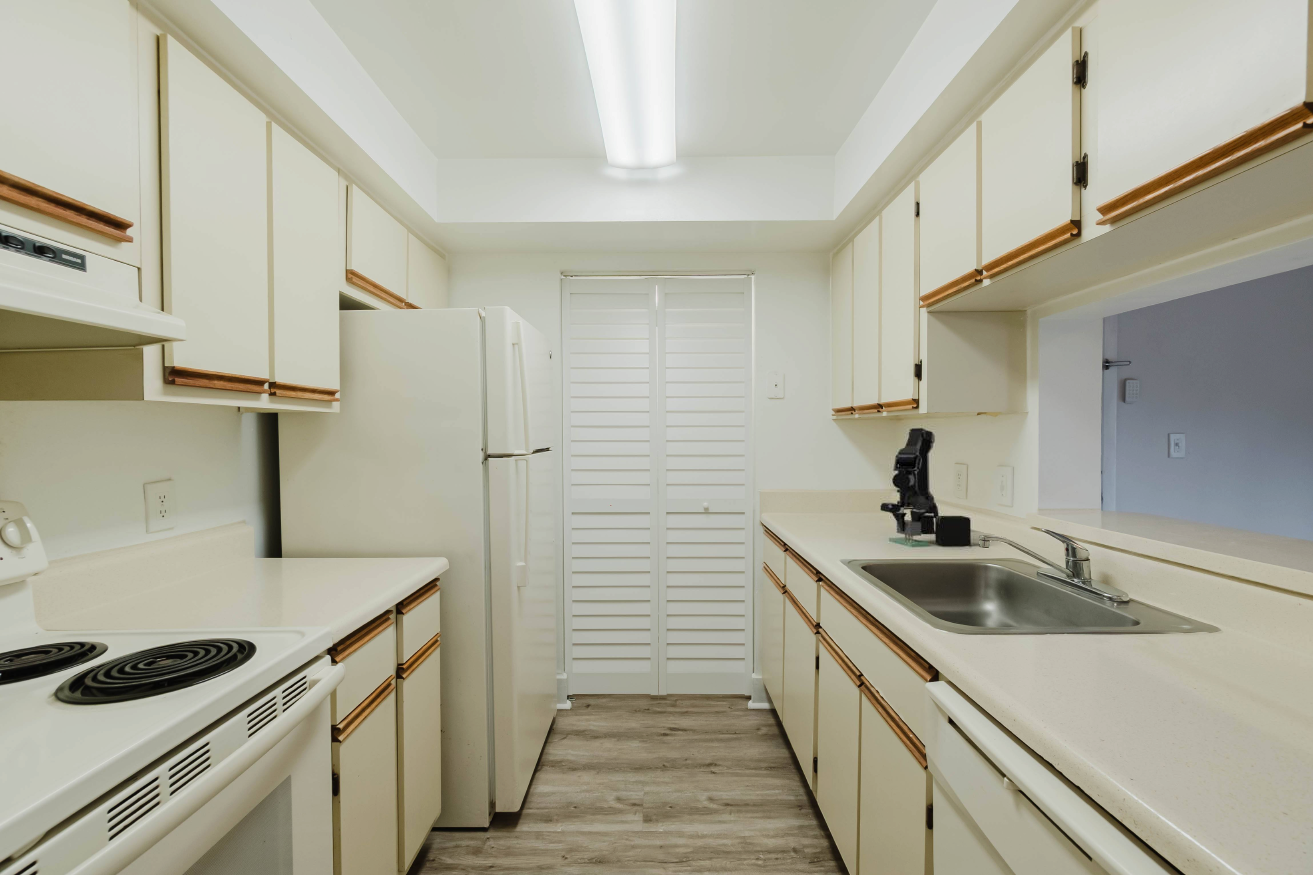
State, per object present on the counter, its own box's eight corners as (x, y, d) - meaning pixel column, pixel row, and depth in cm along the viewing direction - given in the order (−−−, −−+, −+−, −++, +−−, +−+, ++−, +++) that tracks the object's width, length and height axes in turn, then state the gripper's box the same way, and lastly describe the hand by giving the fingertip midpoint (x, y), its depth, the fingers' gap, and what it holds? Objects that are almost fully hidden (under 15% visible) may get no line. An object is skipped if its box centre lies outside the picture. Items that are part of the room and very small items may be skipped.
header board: (889, 540, 195) (889, 531, 195) (906, 539, 196) (906, 530, 196) (911, 546, 183) (911, 536, 183) (929, 545, 184) (929, 535, 185)
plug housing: (896, 532, 193) (896, 520, 193) (907, 532, 194) (907, 519, 194) (910, 536, 186) (909, 523, 186) (921, 535, 187) (920, 522, 187)
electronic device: (971, 546, 183) (970, 517, 183) (941, 546, 183) (941, 517, 183) (964, 544, 187) (963, 515, 187) (935, 544, 188) (934, 515, 188)
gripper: (899, 489, 180) (900, 536, 180) (947, 488, 184) (948, 533, 184) (879, 487, 191) (879, 531, 191) (925, 485, 195) (925, 528, 195)
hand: (908, 531), depth 190 cm, fingers closed on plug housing, 4 cm apart
